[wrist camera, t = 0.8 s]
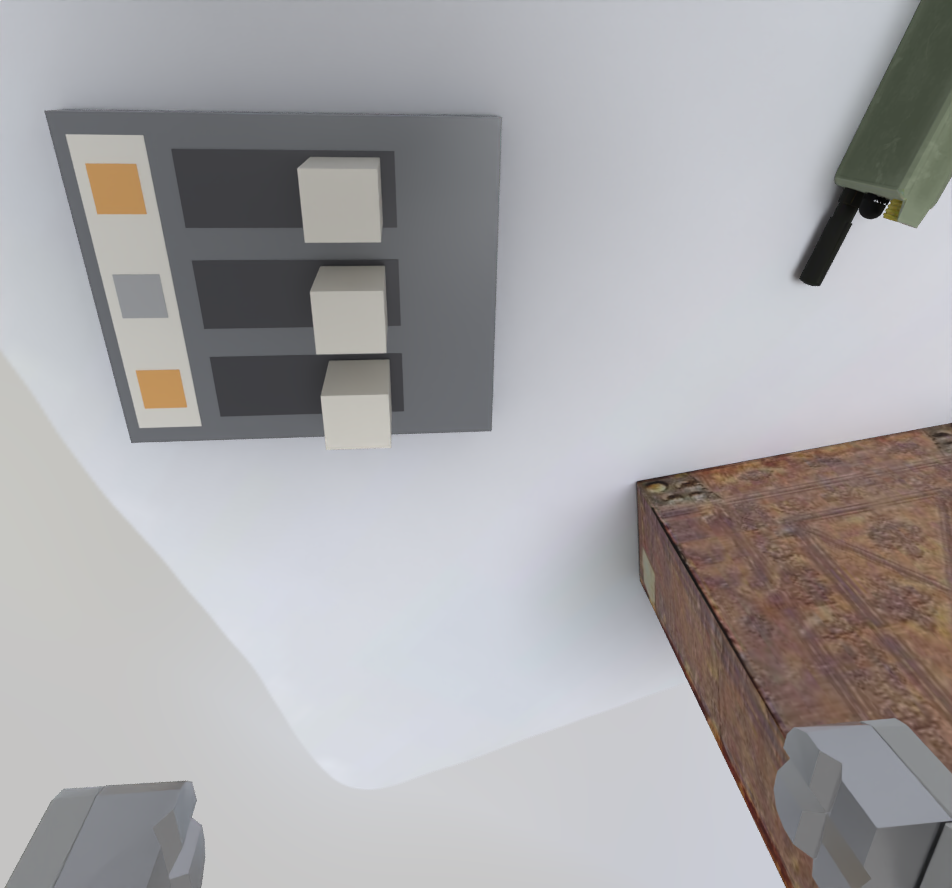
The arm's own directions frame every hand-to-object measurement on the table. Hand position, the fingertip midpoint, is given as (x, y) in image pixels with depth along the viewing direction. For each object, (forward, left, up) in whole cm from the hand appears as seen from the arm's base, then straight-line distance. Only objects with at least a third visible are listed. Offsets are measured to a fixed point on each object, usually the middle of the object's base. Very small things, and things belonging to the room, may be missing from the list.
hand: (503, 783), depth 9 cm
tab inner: (-3, -4, -32) cm, 32 cm away
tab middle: (+2, -4, -32) cm, 32 cm away
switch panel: (+2, -7, -34) cm, 35 cm away
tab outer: (+8, -4, -31) cm, 33 cm away
